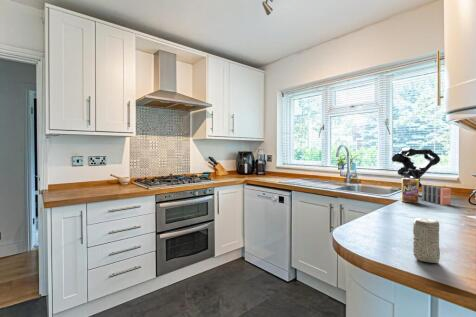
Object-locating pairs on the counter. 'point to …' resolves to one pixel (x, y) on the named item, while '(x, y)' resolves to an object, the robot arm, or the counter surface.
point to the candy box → (410, 190)
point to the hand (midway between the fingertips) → (417, 180)
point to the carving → (426, 240)
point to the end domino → (445, 197)
